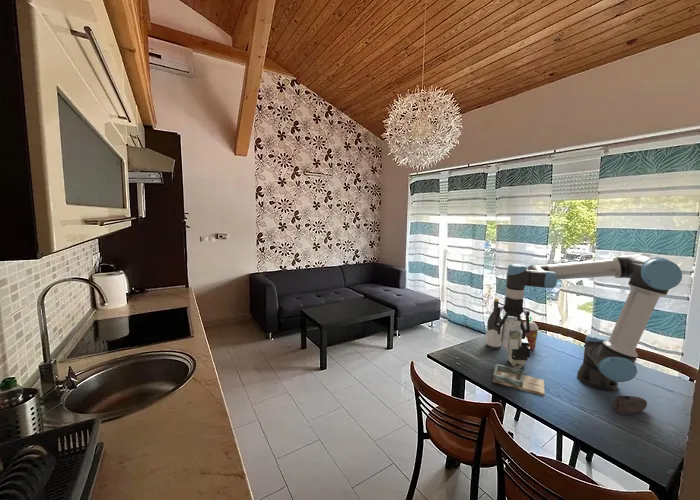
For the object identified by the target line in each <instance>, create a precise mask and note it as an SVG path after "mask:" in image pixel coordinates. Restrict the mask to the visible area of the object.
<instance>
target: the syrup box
mask: <svg viewBox="0 0 700 500" xmlns="http://www.w3.org/2000/svg"><path fill="white" fill-rule="evenodd" d="M521 322H523V320H522V321H518V319H517V317H513V316H508V317H507V318H506V320H505V322H504V323H503V325H502V327H503V330H502V341H501V346H502V347H505V348H506V349H519V344H520V334H521V331H522V329H521V327H520V325H521ZM505 348H504V349H505ZM506 349H505V350H506Z"/></svg>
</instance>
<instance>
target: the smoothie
mask: <svg viewBox="0 0 700 500" xmlns="http://www.w3.org/2000/svg"><path fill="white" fill-rule="evenodd" d="M529 323H530V333H525V337H526V339H528V343H529V348H530V349H531V351H534V350H535V348H536V344H537V337H538V332H539V327H538V325H537V324H536V322H534V321H532V316H530V315H529ZM523 325H524V327H525V329H527V326H526V320H525V321H523ZM531 351H530V352H531Z"/></svg>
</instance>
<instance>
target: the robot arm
mask: <svg viewBox="0 0 700 500" xmlns="http://www.w3.org/2000/svg"><path fill="white" fill-rule="evenodd" d="M602 277H614V278H615V279H622V278H623V279H629V281H628V286H629V288H630V290H629V294H628V295H627V298H626V299H625V302H624V305H623V307H622V309H621V311H620V314H619V315H618V318H617V320H616V323H615V324H614V325H615V326H614V327H613V329H612V332H611V334H610V336H607V335H603V334H596V333H595V334H594V333H593V334H587V335H586V337H585V340H584V350H583V351H584V352H583V361H582V363H581V365H580V367H579V369H578V370H577V372H576V373H577V374H576V378H577V380H578V381H579V382H581V383H582V384H583V385H586V386H588V387H589V388H593V389H596V390H599V391H603V392H615V391H617V390H618V387H619V383H624V382H630V381H632V380H634V378H636V376H637V374H638V369H637V366H636V364H635V363H636V361H637V360H638V359H637V358H638V357H639V355H638V353H637V351H636V349H637V347H638V344H639V342H640V339H641V338H642V335H643V333H644V331H645V329H646V327H647V324H649V323H648V322H649V320H650V318H651V316H652V314H653V311H654V309H655V308H656V306H657V303H658V302H659V299H660V297H664V296H667V294H668V292H669V290H672V289H673V288H676V287H678V285H679V284H681V282H682V280H683V272H682V269H681V268H680V266H679V265H678V264H677V263H675V262H674V261H672V260H670V259H667V258H664V257H658V256H655V255H650V254H646V253H639V254H638V253H637V254H628V255H620V256H612V257H611V258H610V259H602V260H599V259H598V260H590V261H577V262H576V261H575V262H568V263H567V262H565V263H554V264H543V265H542V264H541V265H539V264H530V265H528V266H527V265H524V264H519V263H518V264H517V263H512V264H509V265H508V267H507V273H506V287H505V297H504V305H503V306H501V305H498V307H497V311H498V312H497V316H496V319H495V323H494V326H496V327H498V334H500V341H499V342H501V341H502V330H503V323H504V322H505V320H506V318H507V317H516V318H517V319H518V321H522V322H521V325H520V327H521V334H520V345H519V346H521V344H522V339H525V333H530V323H529V321H530V314H531V313H530V312H531V311H530V310H525V309H524V308H523V307H524V296H525V287H534V288H535V287H536V288H543V289H554V288H555V287H556V286H557V285H558V284H557V282H558V280H572V279H573V280H575V279H585V278H587V279H588V278H602ZM502 311H504V312H505V314H504V316H503V317H502V318H501V319H502V320H501V322H500V324H498V320H499V316H500V317H501V312H502ZM522 314H524V316H525V321H526V326H527V329H525V327H524V325H523V323H524V321H523V320H522V316H521V315H522ZM501 326H502V327H501Z"/></svg>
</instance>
